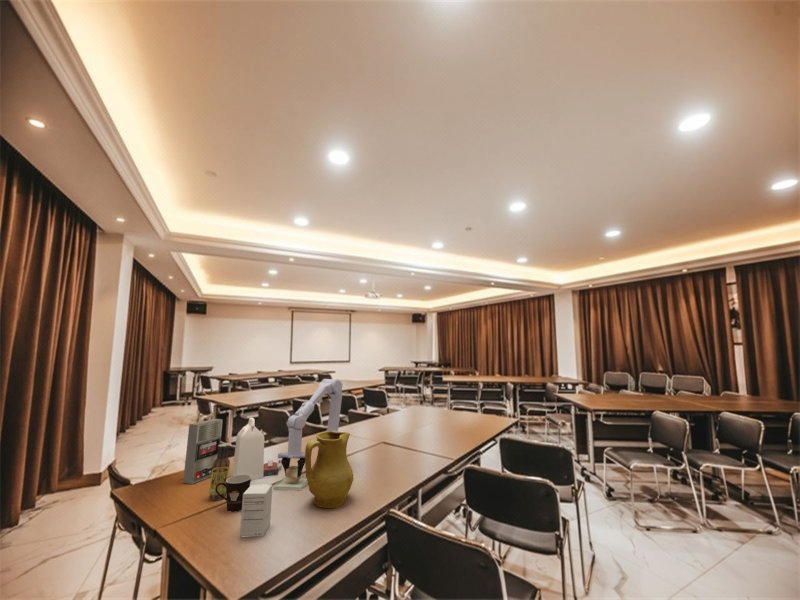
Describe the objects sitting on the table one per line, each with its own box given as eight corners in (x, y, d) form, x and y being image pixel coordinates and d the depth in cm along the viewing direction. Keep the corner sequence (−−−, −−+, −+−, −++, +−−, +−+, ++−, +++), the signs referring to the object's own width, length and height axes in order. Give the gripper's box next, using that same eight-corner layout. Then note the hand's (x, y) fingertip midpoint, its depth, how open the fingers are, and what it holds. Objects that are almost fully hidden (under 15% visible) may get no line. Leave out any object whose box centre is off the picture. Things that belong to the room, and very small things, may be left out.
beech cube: (300, 478, 143) (301, 466, 144) (296, 482, 138) (297, 470, 139) (289, 477, 144) (290, 465, 145) (285, 482, 139) (286, 469, 140)
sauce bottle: (207, 502, 123) (212, 447, 127) (209, 496, 129) (214, 443, 132) (226, 499, 126) (230, 445, 129) (227, 493, 131) (232, 442, 135)
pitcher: (353, 509, 117) (355, 437, 122) (300, 513, 114) (304, 439, 119) (352, 490, 134) (354, 427, 138) (306, 493, 131) (309, 429, 135)
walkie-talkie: (281, 476, 151) (281, 463, 170) (282, 466, 152) (282, 454, 171) (261, 478, 149) (263, 465, 167) (262, 468, 149) (264, 456, 168)
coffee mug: (254, 504, 121) (256, 476, 123) (236, 515, 113) (238, 484, 115) (230, 500, 125) (233, 472, 127) (211, 510, 117) (214, 480, 119)
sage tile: (311, 479, 146) (311, 477, 146) (300, 490, 134) (300, 487, 135) (285, 478, 147) (285, 476, 147) (273, 489, 135) (273, 486, 136)
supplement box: (247, 525, 106) (250, 484, 109) (270, 524, 107) (273, 483, 109) (238, 537, 99) (242, 493, 101) (263, 536, 100) (266, 492, 102)
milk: (263, 478, 148) (267, 419, 153) (235, 483, 142) (240, 422, 146) (258, 470, 158) (262, 415, 162) (232, 475, 151) (236, 417, 156)
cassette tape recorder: (192, 484, 140) (198, 425, 145) (182, 483, 142) (188, 424, 147) (219, 474, 153) (224, 419, 158) (209, 472, 155) (214, 418, 159)
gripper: (275, 445, 140) (273, 478, 138) (307, 446, 139) (305, 479, 137) (282, 441, 147) (280, 472, 145) (313, 441, 146) (311, 473, 144)
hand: (293, 475), depth 141 cm, fingers closed on beech cube, 5 cm apart
